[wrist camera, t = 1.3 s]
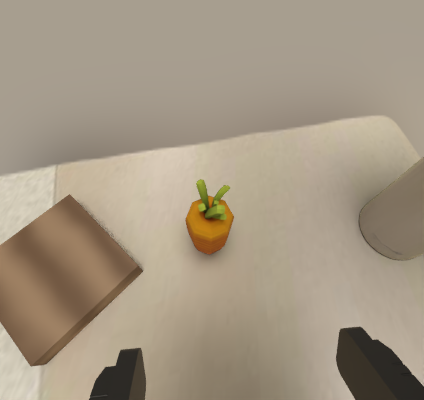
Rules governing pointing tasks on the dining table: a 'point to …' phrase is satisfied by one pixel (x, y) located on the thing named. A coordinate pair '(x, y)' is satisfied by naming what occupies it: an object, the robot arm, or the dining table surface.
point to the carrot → (209, 220)
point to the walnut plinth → (58, 279)
